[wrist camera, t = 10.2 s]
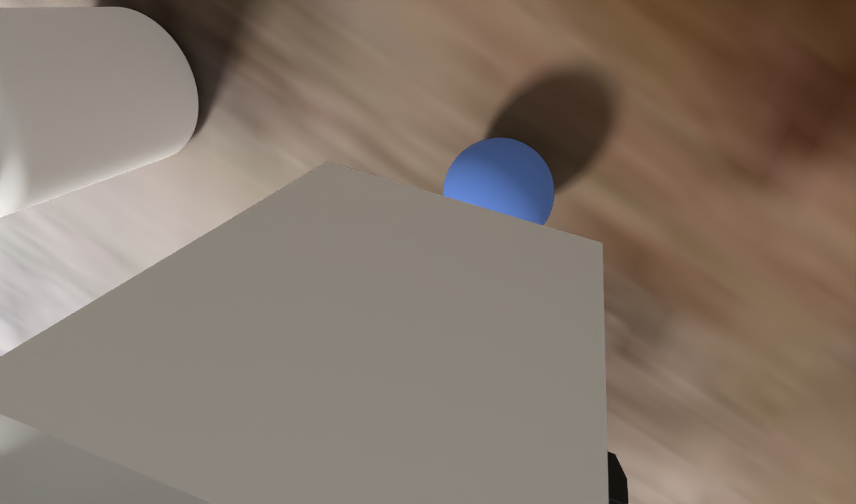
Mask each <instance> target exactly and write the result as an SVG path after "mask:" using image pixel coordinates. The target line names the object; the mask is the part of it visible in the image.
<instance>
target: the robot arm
mask: <svg viewBox="0 0 856 504" xmlns="http://www.w3.org/2000/svg"><path fill="white" fill-rule="evenodd" d="M607 456H608V497H609V504H628V488H627V478H626V476H625V474H624V472H623V470H622V468H621V465H620V463H619V461H618V459H617V457H616V455H615V454H613V453H610V452H608V451H607Z"/></svg>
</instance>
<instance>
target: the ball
mask: <svg viewBox="0 0 856 504" xmlns="http://www.w3.org/2000/svg"><path fill="white" fill-rule="evenodd" d="M443 196H446V197H449V198H452V199H456V200H459V201H463V202H466V203H469V204H473V205H476V206H479V207H483V208H486V209H489V210H493V211H496V212H500V213H503V214H506V215H510V216H513V217H516V218H520V219H523V220H526V221H530V222H533V223H537V224H540V225H544V224H545V222H546V221H547V219H548V217H549V215H550V212H551V210H552V206H553V201H554V183H553V179H552V175H551V172H550V170H549V168H548V166H547V164H546V162H545V161H544V160H543V158H542V157H541V156H540V155H539V154H538V153H537V152H536V151H535V150H534V149H532V148H531V147H530V146H528V145H526V144H524V143H522V142H520V141H517V140H514V139H509V138H490V139H485V140H482V141H479V142H477V143H475V144H473V145H471V146H469V147H468V148H467V149H465V150H464V151H463V152H462V153H461V154H460V155H458V157H457V158H456V159H455V160H454V162H453V163H452V165H451V166H450V168H449V170H448V173H447V175H446V178H445V182H444V189H443Z"/></svg>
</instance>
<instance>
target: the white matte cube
mask: <svg viewBox="0 0 856 504" xmlns="http://www.w3.org/2000/svg"><path fill="white" fill-rule="evenodd" d="M0 504H609V497H608V456H607V415H606V374H605V333H604V293H603V252H602V243H600V242H597V241H594V240H590V239H587V238H584V237H580V236H577V235H574V234H570V233H567V232H563V231H560V230H557V229H553V228H550V227H547V226H543V225H540V224H537V223H533V222H530V221H526V220H523V219H520V218H516V217H513V216H510V215H506V214H503V213H500V212H496V211H493V210H489V209H486V208H483V207H479V206H476V205H473V204H469V203H466V202H463V201H459V200H456V199H452V198H449V197H446V196H442V195H439V194H436V193H432V192H429V191H426V190H422V189H419V188H415V187H412V186H409V185H405V184H402V183H399V182H395V181H392V180H389V179H385V178H382V177H378V176H375V175H372V174H368V173H365V172H362V171H358V170H355V169H352V168H348V167H345V166H341V165H338V164H335V163H331V162H328V161H327V162H325V163H324V164H322V165H320V166H318V167H317V168H315V169H313V170H312V171H310V172H308V173H307V174H305V175H303V176H302V177H300V178H298V179H297V180H295V181H293V182H292V183H290V184H288V185H287V186H285V187H283V188H282V189H280V190H278V191H277V192H275V193H273V194H272V195H270V196H268V197H267V198H265V199H263V200H262V201H260V202H258V203H257V204H255V205H253V206H252V207H250V208H248V209H247V210H245V211H243V212H242V213H240V214H238V215H237V216H235V217H233V218H232V219H230V220H228V221H227V222H225V223H223V224H222V225H220V226H218V227H217V228H215V229H213V230H212V231H210V232H208V233H207V234H205V235H203V236H202V237H200V238H198V239H197V240H195V241H193V242H192V243H190V244H188V245H187V246H185V247H183V248H181V249H180V250H178V251H176V252H175V253H173V254H171V255H170V256H168V257H166V258H165V259H163V260H161V261H160V262H158V263H156V264H155V265H153V266H151V267H150V268H148V269H146V270H145V271H143V272H141V273H140V274H138V275H136V276H135V277H133V278H131V279H130V280H128V281H126V282H125V283H123V284H121V285H120V286H118V287H116V288H115V289H113V290H111V291H110V292H108V293H106V294H105V295H103V296H101V297H100V298H98V299H96V300H95V301H93V302H91V303H90V304H88V305H86V306H85V307H83V308H81V309H80V310H78V311H76V312H75V313H73V314H71V315H70V316H68V317H66V318H65V319H63V320H61V321H60V322H58V323H56V324H55V325H53V326H51V327H50V328H48V329H46V330H44V331H43V332H41V333H39V334H38V335H36V336H34V337H33V338H31V339H29V340H28V341H26V342H24V343H23V344H21V345H19V346H18V347H16V348H14V349H13V350H11V351H9V352H8V353H6V354H4V355H3V356H1V357H0Z"/></svg>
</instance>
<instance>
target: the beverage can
mask: <svg viewBox="0 0 856 504" xmlns="http://www.w3.org/2000/svg"><path fill="white" fill-rule="evenodd" d="M197 118H198V93H197V87H196V83H195V79H194V76H193V73H192V70H191V68H190V66H189V63H188V61H187V59H186V57H185V56H184V54H183V52H182V51H181V49H180V47H179V46H178V45H177V43H176V42H175V41H174V39H173V38H172V37H171V36H170V35H169V34H168V33H167V32H166V31H165V30H164V29H163V28H162V27H161V26H160V25H159V24H157V23H156V22H155V21H154V20H152V19H151V18H149V17H147V16H146V15H144V14H142V13H140V12H137V11H135V10H132V9H128V8H123V7H40V8H0V217H3V216H6V215H9V214H12V213H15V212H17V211H20V210H23V209H26V208H28V207H31V206H34V205H37V204H40V203H42V202H45V201H48V200H51V199H53V198H56V197H59V196H62V195H64V194H67V193H70V192H73V191H76V190H78V189H81V188H84V187H87V186H89V185H92V184H95V183H98V182H100V181H103V180H106V179H109V178H112V177H114V176H117V175H120V174H123V173H125V172H128V171H131V170H134V169H136V168H139V167H142V166H145V165H148V164H150V163H153V162H156V161H159V160H161V159H164V158H167V157H169V156H172V155H174V154H176V153H177V152H179V151H180V150H181V149H182V148H183V147H184V146H185V145H186V144H187V143H188V141H189V140H190V138H191V136H192V134H193V132H194V130H195V127H196V123H197Z"/></svg>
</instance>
